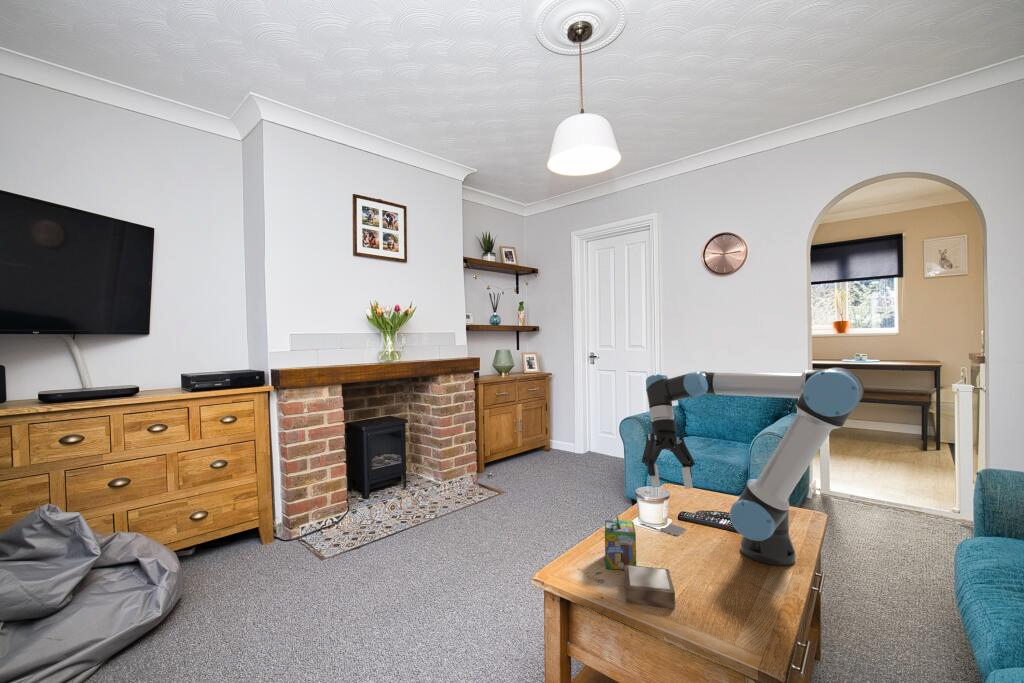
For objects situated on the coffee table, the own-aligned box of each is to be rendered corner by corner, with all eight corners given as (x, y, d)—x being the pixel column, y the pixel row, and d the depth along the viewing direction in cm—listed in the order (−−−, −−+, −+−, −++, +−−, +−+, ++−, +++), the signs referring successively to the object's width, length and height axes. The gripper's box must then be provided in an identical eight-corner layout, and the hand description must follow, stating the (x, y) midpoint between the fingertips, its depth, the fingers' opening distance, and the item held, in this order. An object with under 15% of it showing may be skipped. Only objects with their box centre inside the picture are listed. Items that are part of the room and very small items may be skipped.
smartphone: (649, 517, 172) (687, 528, 161) (649, 519, 172) (687, 531, 161) (639, 522, 166) (677, 534, 156) (639, 525, 166) (677, 537, 156)
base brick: (668, 583, 126) (668, 568, 126) (674, 608, 114) (674, 591, 114) (624, 578, 129) (624, 563, 128) (626, 602, 117) (626, 586, 117)
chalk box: (636, 572, 132) (636, 522, 132) (604, 569, 134) (604, 519, 134) (634, 557, 141) (634, 510, 141) (604, 554, 143) (604, 508, 143)
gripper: (682, 426, 157) (693, 490, 148) (625, 419, 147) (633, 487, 138) (699, 421, 151) (711, 488, 142) (640, 414, 141) (650, 485, 132)
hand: (672, 488), depth 140 cm, fingers open, 13 cm apart
